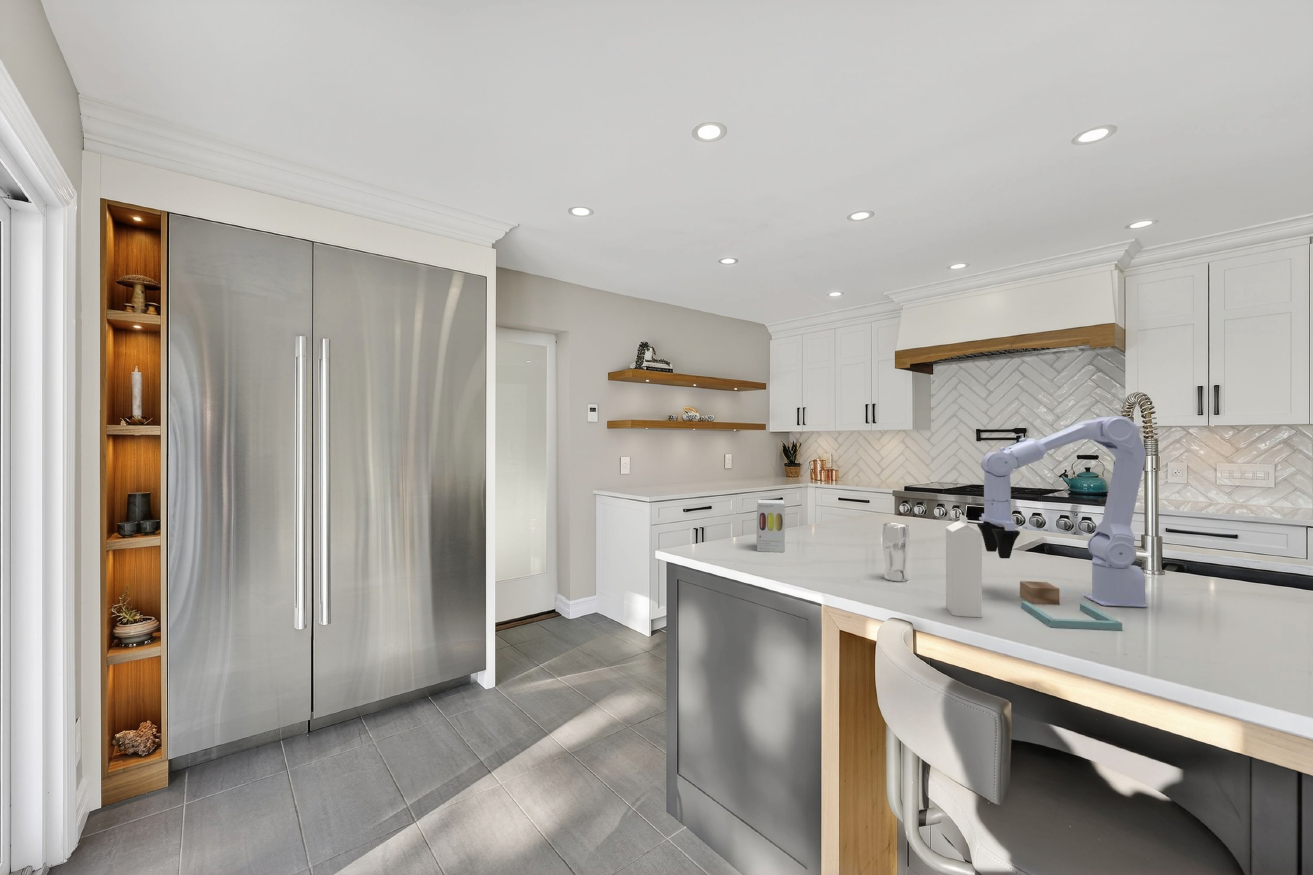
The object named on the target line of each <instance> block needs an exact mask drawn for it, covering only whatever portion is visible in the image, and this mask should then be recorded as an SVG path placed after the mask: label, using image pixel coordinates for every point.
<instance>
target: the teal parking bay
mask: <svg viewBox="0 0 1313 875" xmlns="http://www.w3.org/2000/svg"><path fill="white" fill-rule="evenodd" d="M1020 606H1021V607H1020V608H1021V609H1023V610H1024V611H1025V612H1027V613H1029V614H1030V615H1031V616H1033V617H1035V619H1036V620H1037V619H1038V620H1039V621H1041V622H1042V623H1043V624H1045V625H1046V626H1048V627H1049V628H1053V629H1054V628H1057V629H1079V630H1080V629H1081V630H1103V631H1105V630H1106V631H1123V622H1121V621H1118V620H1117V619H1115V618H1113V617H1111V616H1109V615H1108V614H1107V613H1104V612H1102V611H1100V610H1098V609H1096V608H1095V607H1093V606H1091V605H1089V604H1087V603H1079V611H1080V612H1082V613H1084V614H1086V615H1088V616H1089V617H1091V618H1093V619H1075V618H1074V619H1069V618H1053V617H1052V616H1050V615H1049V614H1048V613H1046V612H1044V611H1042V610H1041V609H1039V608H1038V607H1036V606H1035V605H1034V604H1031V603H1029V602H1028V601H1026V600H1024V601H1023V600H1022V601H1021V602H1020Z"/></svg>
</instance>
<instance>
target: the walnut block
mask: <svg viewBox="0 0 1313 875" xmlns="http://www.w3.org/2000/svg"><path fill="white" fill-rule="evenodd" d="M1019 597H1020V598H1021V599H1023V600H1024V601H1027V602H1029V603H1030V604H1032V605H1047V606H1048V605H1051V606H1060V588H1059V587H1057V586H1056V585H1053V584H1051V583H1049V582H1048V581H1027V580H1024V581H1023V580H1020V581H1019Z"/></svg>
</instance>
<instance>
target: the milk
mask: <svg viewBox="0 0 1313 875" xmlns="http://www.w3.org/2000/svg"><path fill="white" fill-rule="evenodd" d="M982 540H983V536H982V533H981V531H980V530H978V529H977V528H975V527H973V526H971V525H970V524H968V517H966V516H965V515H963V514H962V513H959V520H957V521H955V522H953V523H951V524H950V525H947V526H946V527H945V608H946V609H947V610H948V612H949V613H950V615H951V616H953V617H967V618H983V606H982V605H983V599H982V597H983V578H982V577H983V570H982V569H983V541H982Z"/></svg>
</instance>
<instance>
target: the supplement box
mask: <svg viewBox="0 0 1313 875" xmlns="http://www.w3.org/2000/svg"><path fill="white" fill-rule="evenodd" d="M756 507H757V508H756V509H757V510H756V511H757V512H756V551H757V552H763V553H765V552H767V553H769V552H772V553H785V552H786V549H785V548H786V547H785V546H786V541H785V540H786V538H785V537H786V534H785V533H786V528H785V527H786V519H785V518H786V514H785V513H786V510H785V509H786V503H785V500H783V499H757V506H756Z"/></svg>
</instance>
